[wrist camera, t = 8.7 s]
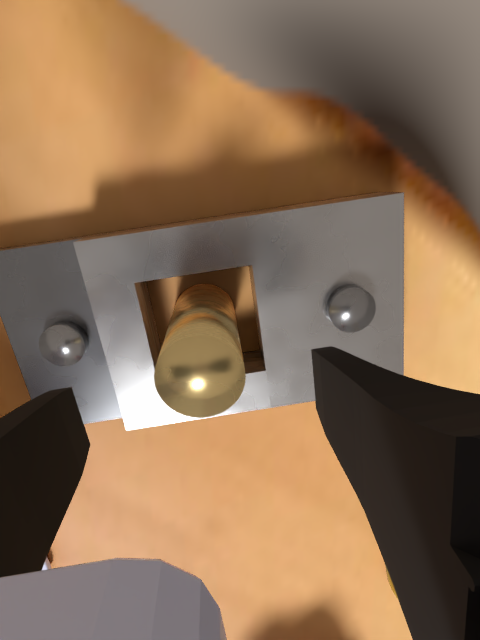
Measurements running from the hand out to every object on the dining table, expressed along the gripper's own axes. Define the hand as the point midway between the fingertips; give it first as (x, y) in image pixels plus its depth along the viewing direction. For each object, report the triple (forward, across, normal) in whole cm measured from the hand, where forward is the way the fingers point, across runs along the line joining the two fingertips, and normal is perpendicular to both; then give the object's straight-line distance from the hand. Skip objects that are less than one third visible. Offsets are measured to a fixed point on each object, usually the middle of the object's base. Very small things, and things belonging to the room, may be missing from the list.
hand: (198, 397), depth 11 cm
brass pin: (+8, 0, 0) cm, 8 cm away
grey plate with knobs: (+8, 0, 0) cm, 8 cm away
